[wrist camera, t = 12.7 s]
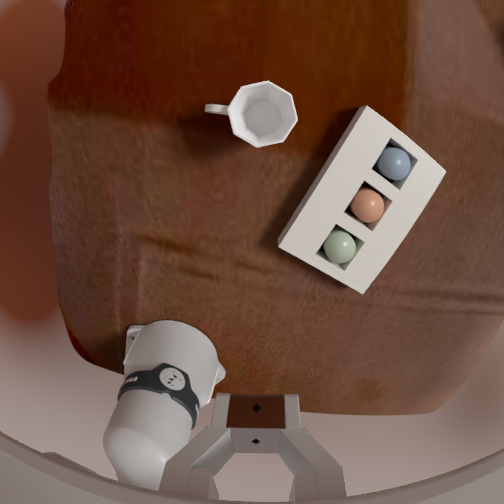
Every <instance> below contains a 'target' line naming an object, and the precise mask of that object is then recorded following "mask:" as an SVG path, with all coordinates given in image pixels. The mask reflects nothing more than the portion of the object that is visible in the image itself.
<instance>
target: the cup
mask: <svg viewBox="0 0 504 504" xmlns="http://www.w3.org/2000/svg"><path fill="white" fill-rule="evenodd" d="M205 112H210V113H216V114H224V115H229V118H230V122H231V126H232V130H233V134H234V135H236V136H238V137H240V138H241V139H243V140H245V141H246V142H248V143H250V144H252V145H253V146H255V147H257V148H258V147H262V146H266V145H271V144H276V143H281V142H284V140H285V139H286V137H287V136H288V134H289V133H290V131H291V130H292V128H293V127H294V125H295V124H296V122H297V121H298V118H297V114H296V110H295V106H294V102H293V98H292V94H290V93H288V92H287V91H285V90H283V89H282V88H280V87H278V86H276V85H275V84H273V83H271V82H270V81H264V82H259V83H255V84H250V85H246V86H242V87H241V88H240V89H239V91H238V93H237V94H236V96H235V97H234V99H233V100H232V102H231V103H230V105H229V106H225V105H215V104H206V106H205Z"/></svg>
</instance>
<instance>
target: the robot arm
mask: <svg viewBox="0 0 504 504" xmlns="http://www.w3.org/2000/svg"><path fill="white" fill-rule="evenodd" d="M123 364H124V366H125V367H124V379H125V381H124V383H123V384H122V385H121V388H120V390H119V394H118V403H117V405H116V407H115V410H114V412H113V414H112V416H111V418H110V421H109V423H108V425H107V428H106V430H105V432H104V437H103V445H104V450H105V453H106V455H107V457H108V458H109V460H110V462H111V464H112V465H113V467H114V469H115V471H116V474H117V477H118V481H116V480H112V479H108V478H105V477H103V476H100V475H99V474H97V473H96V472H94V471H92V470H90V469H88V468H86V467H84V466H82V465H80V464H78V463H76V462H74V461H72V460H69V459H67V458H65V457H63V456H61V455H59V454H57V453H55V452H46V453H41V452H39V451H36V450H34V449H32V448H30V447H28V446H26V445H24V444H22V443H20V442H18V441H17V440H15V439H13V438H11V437H9V436H7V435H6V434H4V433H2V432H1V431H0V504H504V449H502V450H500V451H497V452H496V453H493V454H491V455H489V456H487V457H485V458H482V459H480V460H478V461H475V462H473V463H471V464H468V465H466V466H463V467H460V468H458V469H455V470H453V471H450V472H447V473H444V474H441V475H438V476H435V477H432V478H429V479H425V480H422V481H419V482H415V483H411V484H408V485H404V486H400V487H396V488H392V489H387V490H382V491H378V492H372V493H367V494H361V495H355V496H349V497H346V491H345V483H344V476H343V469H342V467H341V466H340V464H339V463H338V462H337V461H336V460H335V459H334V458H333V457H332V456H331V455H330V454H329V453H328V452H327V451H326V450H325V449H324V448H323V447H322V446H321V445H320V444H319V443H318V442H317V441H316V440H315V439H314V438H313V436H311V434H310V433H309V432H308V431H307V430H306V429H304V428H303V429H302V428H301V421H300V409H299V397H298V394H261V395H247V394H229V393H217V395H216V398H215V404H214V409H213V415H212V420H211V426H210V427H205V428H204V429H203V430H202V431H201V432H200V433H199V434H198V435H197V436H195V437H194V439H192V440H191V441H190V442H189V438H190V433H191V430H192V429H193V428H194V427H195V424H196V421H197V419H198V415H199V408H201V407H204V406H205V405H206V404H208V403H209V402H210V399H211V396H212V392H213V389H214V385H216V384H217V383H218V382H220V381H221V380H222V379H223V378H224V377H225V374H226V371H225V369H224V368H223V367H222V365H221V364H220V363H219V361H218V357H217V352H216V350H215V347H214V346H213V344H212V342H211V341H210V340H209V339H208V338H207V337H206V336H205V335H204V334H203V333H202V332H200V331H199V330H197V329H196V328H194V327H192V326H190V325H187V324H185V323H181V322H177V321H171V320H162V321H156V322H153V323H150V324H148V325H144V326H142V325H132V326H130V327H129V328H128V331H127V339H126V352H125V359H124V362H123ZM234 452H238V453H279V455H280V457H281V458H282V460H283V461H284V462H285V464H286V465H287V467H288V468H289V469H290V470H291V472H292V473H293V475H294V476H295V477H294V480H293V484H292V488H291V492H290V496H289V502H243V501H226V500H219V494H218V491H217V488H216V485H215V482H214V479H213V477H214V476H215V475H216V474H217V473H218V472H219V470H220V469H221V468H222V467H223V466H224V465H225V464H226V462H227V461H228V460H229V459H230V458H231V456H232V455H233V454H234Z"/></svg>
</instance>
